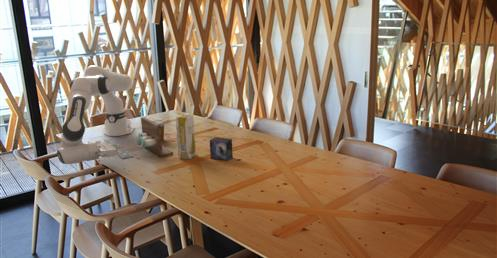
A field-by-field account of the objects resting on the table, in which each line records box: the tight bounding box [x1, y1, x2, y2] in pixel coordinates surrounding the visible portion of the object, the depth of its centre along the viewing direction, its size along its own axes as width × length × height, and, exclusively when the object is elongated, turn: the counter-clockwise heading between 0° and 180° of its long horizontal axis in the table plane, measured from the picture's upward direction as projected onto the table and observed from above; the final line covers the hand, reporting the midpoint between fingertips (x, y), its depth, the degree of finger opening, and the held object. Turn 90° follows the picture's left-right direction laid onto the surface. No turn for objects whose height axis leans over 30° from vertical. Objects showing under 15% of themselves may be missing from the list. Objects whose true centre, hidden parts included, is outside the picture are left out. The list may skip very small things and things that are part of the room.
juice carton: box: [175, 112, 196, 160], centre depth 224 cm, size 9×8×24 cm
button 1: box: [138, 132, 147, 137], centre depth 240 cm, size 8×4×4 cm, turn 124°
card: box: [116, 150, 134, 160], centre depth 233 cm, size 6×12×1 cm, turn 34°
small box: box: [209, 136, 234, 162], centre depth 222 cm, size 11×6×10 cm, turn 62°
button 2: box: [141, 138, 157, 149], centre depth 227 cm, size 8×4×4 cm, turn 124°
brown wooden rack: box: [140, 116, 174, 159], centre depth 236 cm, size 8×23×18 cm, turn 34°
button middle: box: [136, 136, 152, 146], centre depth 232 cm, size 8×4×4 cm, turn 124°
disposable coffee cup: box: [152, 119, 166, 142], centre depth 256 cm, size 10×10×12 cm
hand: (120, 146), depth 218 cm, fingers closed
